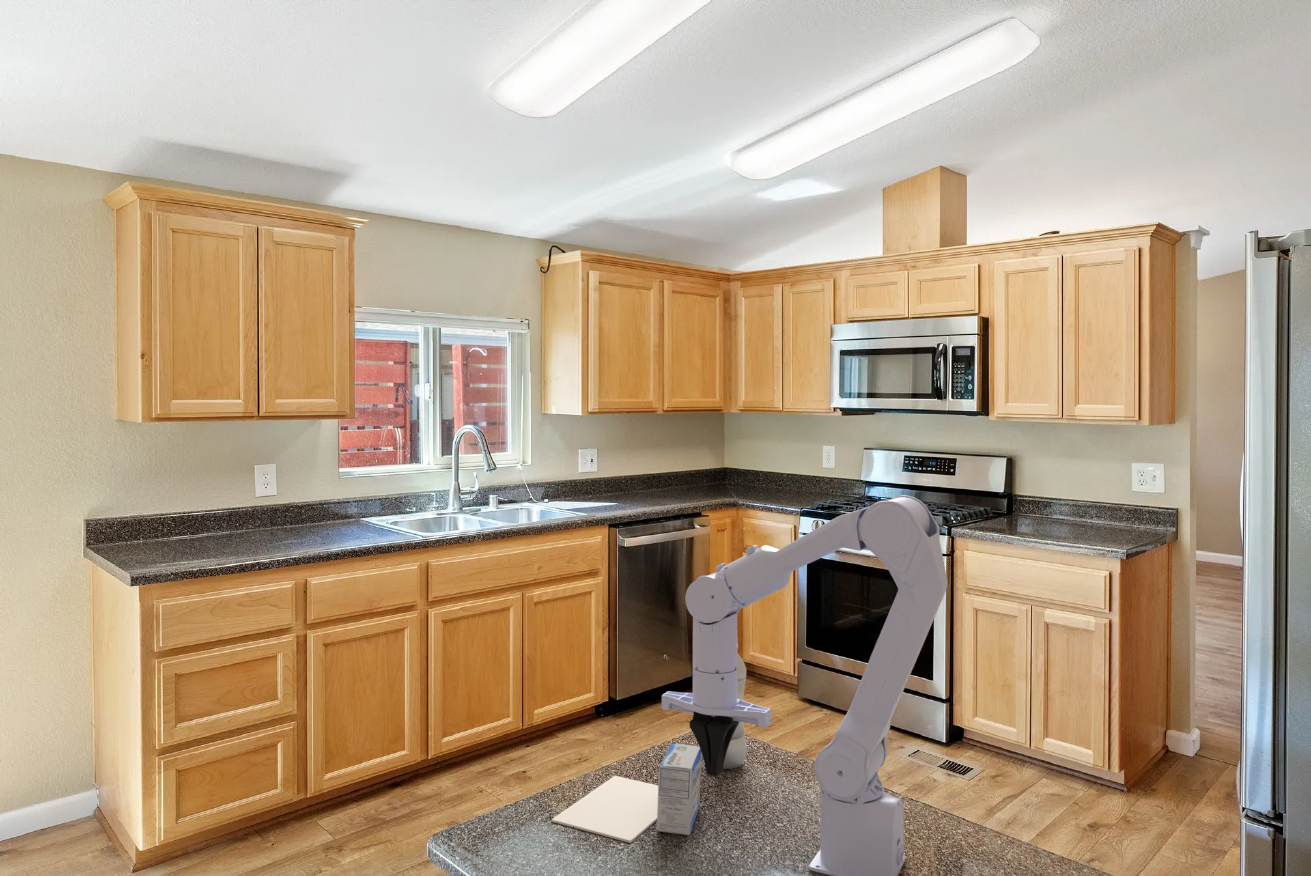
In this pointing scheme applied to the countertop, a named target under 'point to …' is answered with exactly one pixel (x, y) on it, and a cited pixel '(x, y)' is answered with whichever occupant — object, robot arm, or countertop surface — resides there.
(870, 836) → the robot arm
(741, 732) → the plastic bottle
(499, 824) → the countertop surface
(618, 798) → the mat
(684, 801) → the medicine box
